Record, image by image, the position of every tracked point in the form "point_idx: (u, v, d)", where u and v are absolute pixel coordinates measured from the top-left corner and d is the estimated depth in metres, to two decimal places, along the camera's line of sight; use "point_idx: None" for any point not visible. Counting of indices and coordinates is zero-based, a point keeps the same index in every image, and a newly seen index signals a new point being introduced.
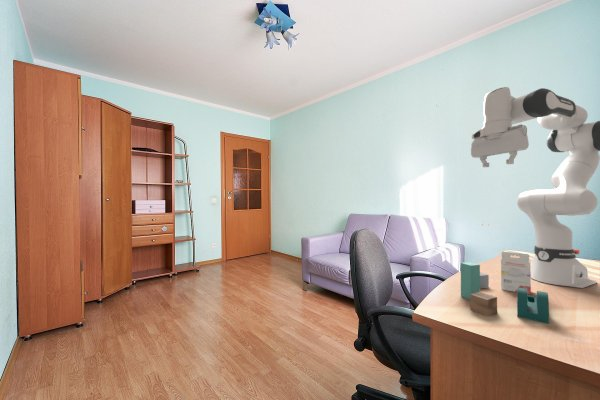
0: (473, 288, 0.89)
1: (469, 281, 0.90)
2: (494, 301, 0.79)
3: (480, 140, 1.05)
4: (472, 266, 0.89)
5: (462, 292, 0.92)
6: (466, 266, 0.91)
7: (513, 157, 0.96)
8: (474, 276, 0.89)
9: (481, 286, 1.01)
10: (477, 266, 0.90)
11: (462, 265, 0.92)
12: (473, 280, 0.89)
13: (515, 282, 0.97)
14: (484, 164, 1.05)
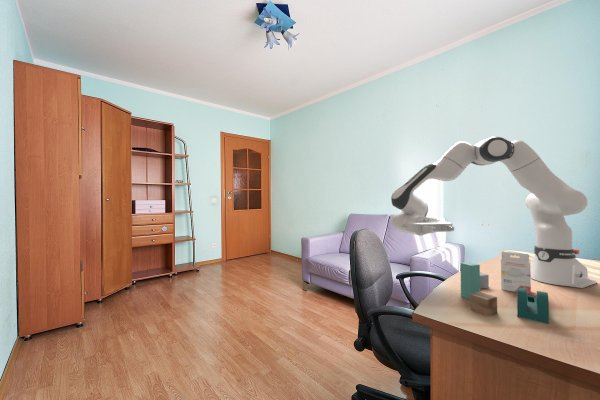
0: (473, 288, 0.89)
1: (469, 281, 0.90)
2: (494, 301, 0.79)
3: None
4: (472, 266, 0.89)
5: (462, 292, 0.92)
6: (466, 266, 0.91)
7: (426, 228, 1.03)
8: (474, 276, 0.89)
9: (481, 286, 1.01)
10: (477, 266, 0.90)
11: (462, 265, 0.92)
12: (473, 280, 0.89)
13: (515, 282, 0.97)
14: (450, 230, 1.05)
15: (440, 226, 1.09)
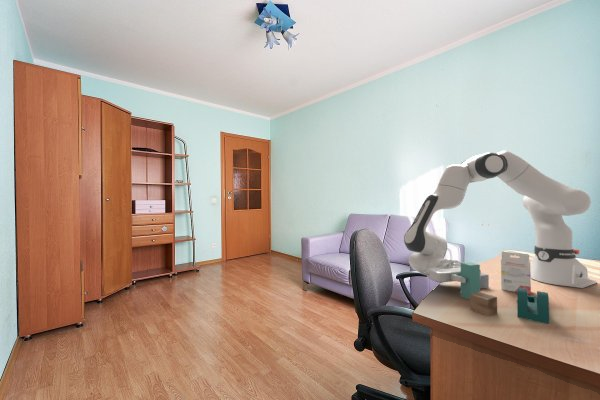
0: (473, 288, 0.89)
1: (469, 281, 0.90)
2: (494, 301, 0.79)
3: None
4: (472, 266, 0.89)
5: (462, 292, 0.92)
6: (466, 266, 0.91)
7: (457, 278, 0.92)
8: (474, 276, 0.89)
9: (481, 286, 1.01)
10: (477, 266, 0.90)
11: (462, 265, 0.92)
12: (473, 280, 0.89)
13: (515, 282, 0.97)
14: None
15: None
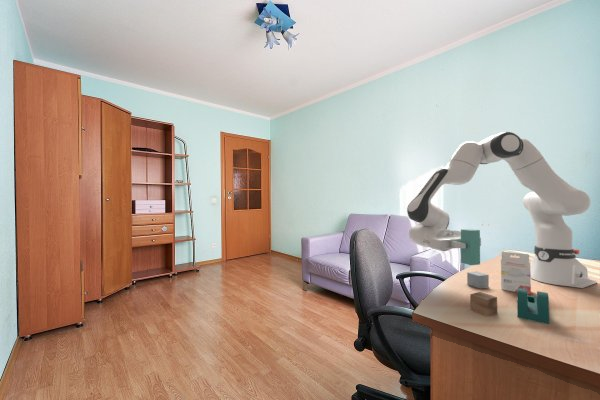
0: (473, 253, 0.89)
1: (469, 246, 0.89)
2: (494, 301, 0.79)
3: None
4: (472, 231, 0.89)
5: (462, 258, 0.92)
6: (466, 232, 0.91)
7: (458, 244, 0.92)
8: (474, 241, 0.89)
9: (481, 286, 1.01)
10: (477, 231, 0.90)
11: (462, 231, 0.92)
12: (473, 245, 0.89)
13: (515, 282, 0.97)
14: None
15: None
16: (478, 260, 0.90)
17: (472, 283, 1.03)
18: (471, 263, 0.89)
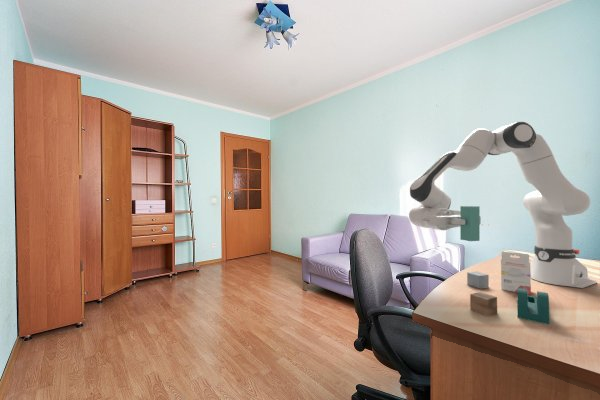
0: (473, 229, 0.89)
1: (469, 222, 0.89)
2: (494, 301, 0.79)
3: None
4: (472, 207, 0.89)
5: (461, 235, 0.92)
6: (465, 208, 0.91)
7: (457, 221, 0.92)
8: (473, 217, 0.89)
9: (481, 286, 1.01)
10: (477, 207, 0.90)
11: (462, 208, 0.92)
12: (473, 222, 0.89)
13: (515, 282, 0.97)
14: None
15: None
16: (477, 236, 0.90)
17: (472, 283, 1.03)
18: (471, 239, 0.89)
